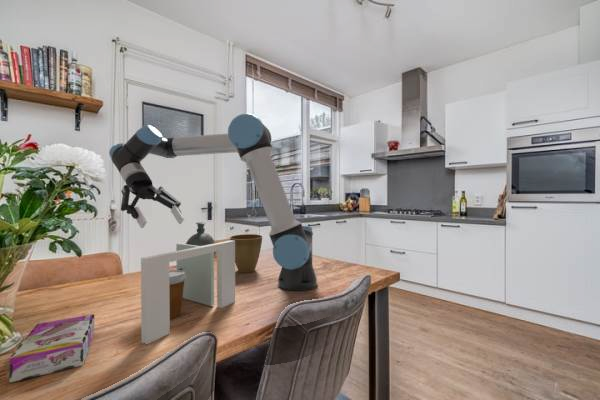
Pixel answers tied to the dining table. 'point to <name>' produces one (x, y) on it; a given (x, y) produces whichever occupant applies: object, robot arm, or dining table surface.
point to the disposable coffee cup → (176, 291)
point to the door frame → (157, 285)
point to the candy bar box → (52, 348)
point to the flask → (201, 237)
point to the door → (197, 276)
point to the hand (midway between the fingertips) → (164, 223)
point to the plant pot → (247, 251)
